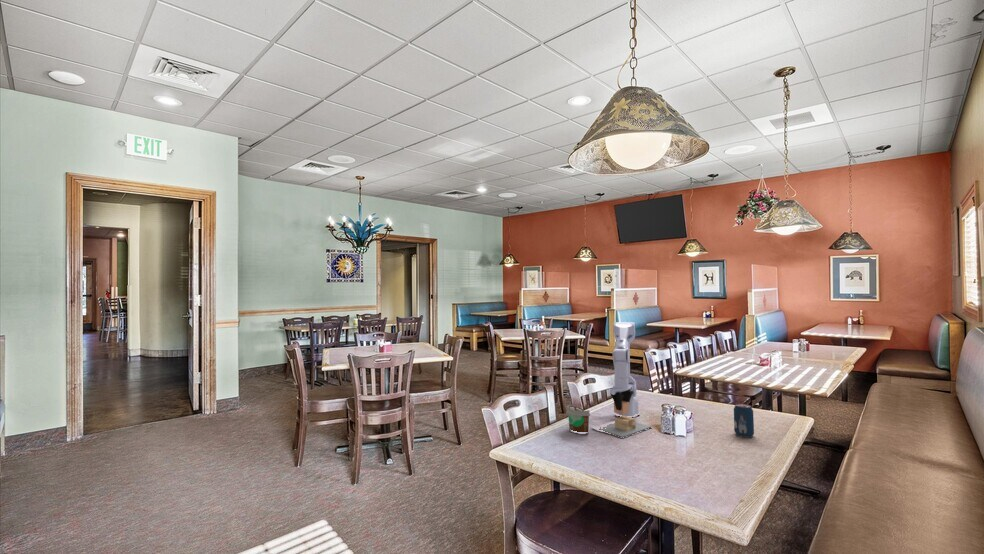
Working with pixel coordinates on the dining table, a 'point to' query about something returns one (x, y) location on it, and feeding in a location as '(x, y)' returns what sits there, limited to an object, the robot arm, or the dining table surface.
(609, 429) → the slate board
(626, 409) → the terracotta block
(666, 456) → the dining table surface
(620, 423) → the oak base block
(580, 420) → the food container
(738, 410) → the soda can
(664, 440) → the dining table surface
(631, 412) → the robot arm
